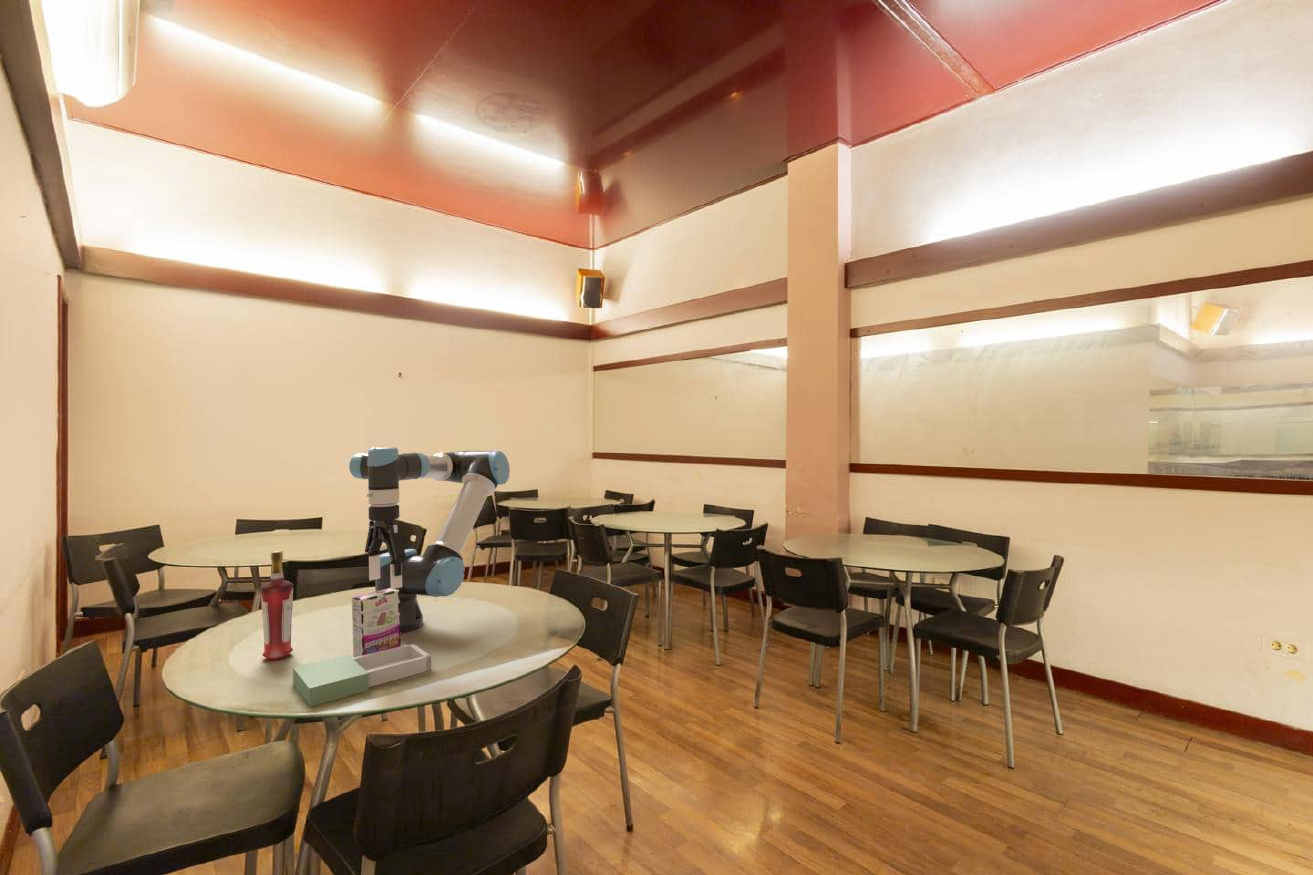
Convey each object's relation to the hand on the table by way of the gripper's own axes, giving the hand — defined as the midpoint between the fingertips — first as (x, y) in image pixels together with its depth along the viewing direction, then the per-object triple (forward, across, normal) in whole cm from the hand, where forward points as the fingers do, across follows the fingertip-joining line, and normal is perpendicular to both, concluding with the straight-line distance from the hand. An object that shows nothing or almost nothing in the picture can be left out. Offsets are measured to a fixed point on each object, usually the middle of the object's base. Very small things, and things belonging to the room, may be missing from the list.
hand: (385, 583), depth 159 cm
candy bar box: (+19, -2, -2) cm, 19 cm away
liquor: (+19, -19, -20) cm, 34 cm away
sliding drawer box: (+19, +13, -11) cm, 25 cm away
